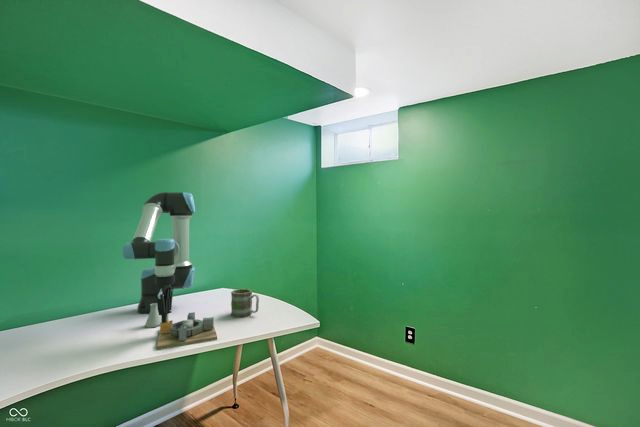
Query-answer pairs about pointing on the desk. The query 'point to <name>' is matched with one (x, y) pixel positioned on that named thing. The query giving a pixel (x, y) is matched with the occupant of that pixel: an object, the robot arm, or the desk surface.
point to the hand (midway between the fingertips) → (165, 329)
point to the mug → (243, 303)
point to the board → (173, 341)
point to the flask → (153, 317)
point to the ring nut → (186, 327)
